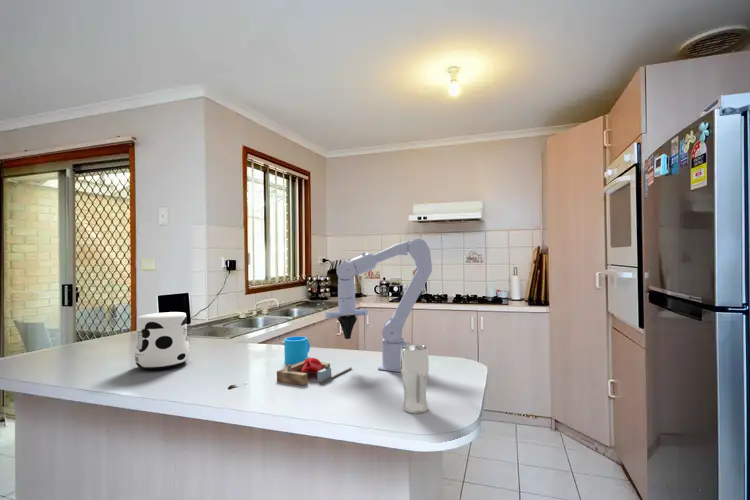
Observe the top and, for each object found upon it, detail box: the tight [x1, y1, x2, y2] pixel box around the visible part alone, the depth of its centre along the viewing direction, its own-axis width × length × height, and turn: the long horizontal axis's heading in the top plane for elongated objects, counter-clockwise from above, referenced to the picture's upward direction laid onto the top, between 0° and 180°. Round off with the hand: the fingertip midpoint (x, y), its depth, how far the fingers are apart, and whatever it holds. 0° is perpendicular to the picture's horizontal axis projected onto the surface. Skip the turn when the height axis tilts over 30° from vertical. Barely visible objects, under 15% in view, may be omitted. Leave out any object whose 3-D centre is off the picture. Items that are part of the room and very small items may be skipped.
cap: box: [301, 357, 322, 374], centre depth 128 cm, size 8×6×6 cm
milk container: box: [134, 311, 191, 370], centre depth 144 cm, size 17×17×18 cm
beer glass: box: [400, 344, 430, 415], centre depth 99 cm, size 7×7×15 cm
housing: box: [276, 358, 352, 386], centre depth 129 cm, size 14×20×4 cm
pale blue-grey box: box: [316, 365, 332, 383], centre depth 123 cm, size 2×5×4 cm, turn 152°
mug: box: [283, 335, 311, 365], centre depth 148 cm, size 12×8×8 cm
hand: (347, 338), depth 136 cm, fingers closed
